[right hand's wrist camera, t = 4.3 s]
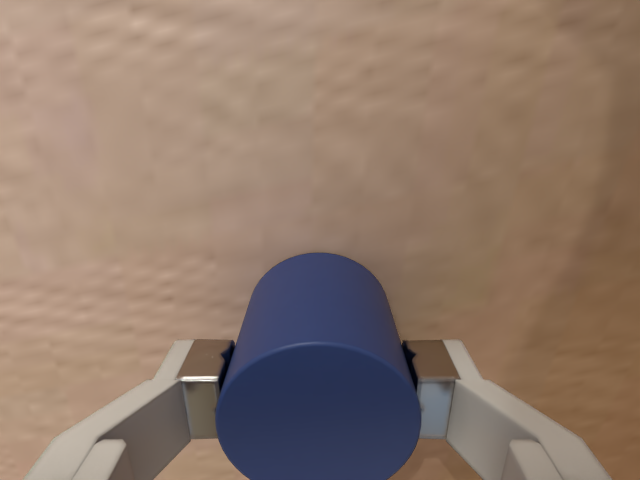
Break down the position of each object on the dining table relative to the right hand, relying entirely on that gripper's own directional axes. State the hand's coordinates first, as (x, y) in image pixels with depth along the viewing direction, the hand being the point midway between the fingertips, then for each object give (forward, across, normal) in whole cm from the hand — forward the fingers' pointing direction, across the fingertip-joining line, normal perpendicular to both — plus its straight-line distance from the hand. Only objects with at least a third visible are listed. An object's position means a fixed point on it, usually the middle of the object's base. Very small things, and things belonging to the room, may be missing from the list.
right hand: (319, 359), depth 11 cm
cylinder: (+2, 0, 0) cm, 2 cm away
